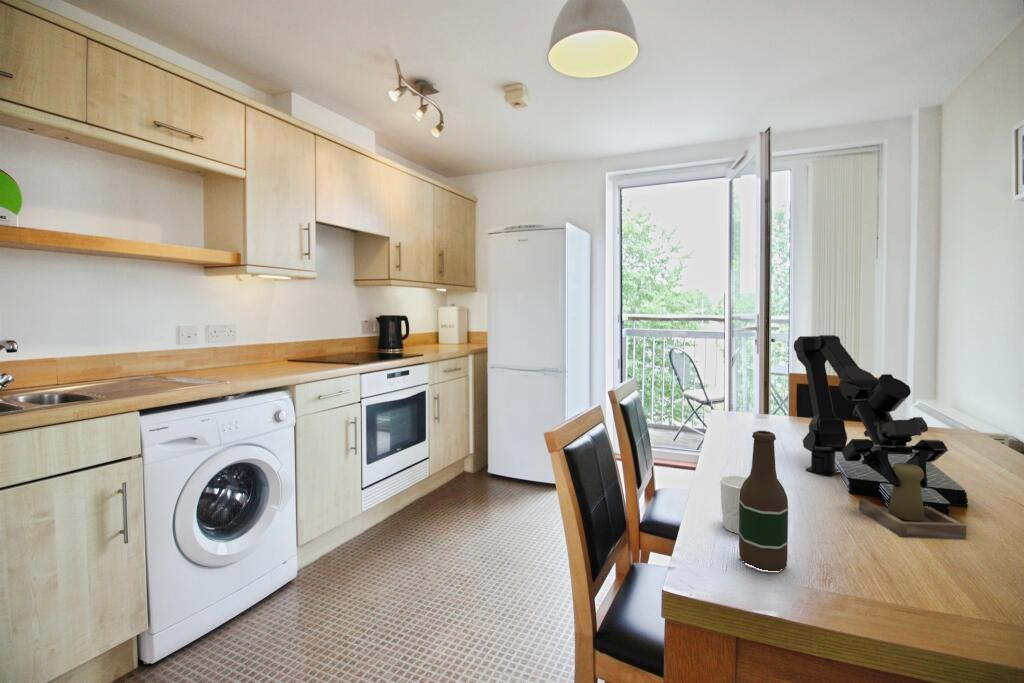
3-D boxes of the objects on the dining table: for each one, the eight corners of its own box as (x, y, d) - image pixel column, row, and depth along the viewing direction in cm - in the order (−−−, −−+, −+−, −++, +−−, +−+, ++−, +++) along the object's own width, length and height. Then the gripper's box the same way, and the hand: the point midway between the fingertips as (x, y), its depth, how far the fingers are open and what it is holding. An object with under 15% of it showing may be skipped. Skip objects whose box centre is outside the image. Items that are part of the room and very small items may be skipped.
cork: (932, 519, 99) (934, 467, 98) (910, 522, 97) (911, 470, 97) (902, 507, 104) (904, 458, 104) (881, 510, 103) (882, 461, 102)
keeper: (859, 509, 107) (859, 498, 107) (916, 511, 106) (916, 499, 106) (900, 536, 94) (900, 524, 94) (965, 538, 93) (966, 525, 93)
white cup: (758, 522, 102) (758, 477, 101) (764, 539, 94) (765, 490, 94) (718, 518, 104) (718, 473, 104) (721, 533, 97) (722, 486, 96)
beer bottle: (786, 579, 80) (788, 440, 79) (736, 566, 84) (737, 434, 83) (787, 558, 87) (789, 430, 85) (741, 548, 91) (742, 425, 89)
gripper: (851, 403, 104) (883, 468, 94) (943, 403, 102) (985, 470, 92) (830, 429, 113) (857, 492, 102) (914, 430, 111) (951, 494, 100)
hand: (911, 487), depth 99 cm, fingers closed on cork, 5 cm apart
